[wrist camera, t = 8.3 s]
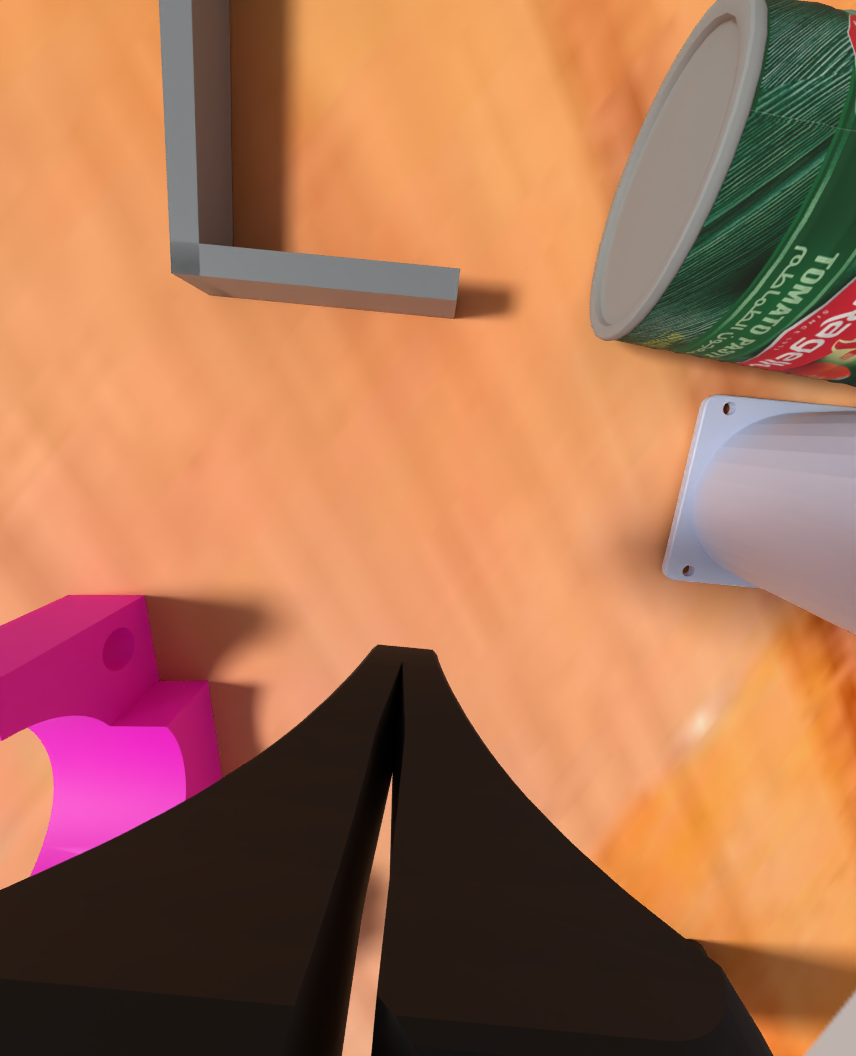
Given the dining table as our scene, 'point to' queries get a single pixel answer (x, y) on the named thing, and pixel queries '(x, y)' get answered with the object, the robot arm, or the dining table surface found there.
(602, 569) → the dining table surface
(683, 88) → the canned tomato
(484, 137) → the dining table surface
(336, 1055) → the robot arm
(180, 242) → the box
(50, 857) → the toy block
